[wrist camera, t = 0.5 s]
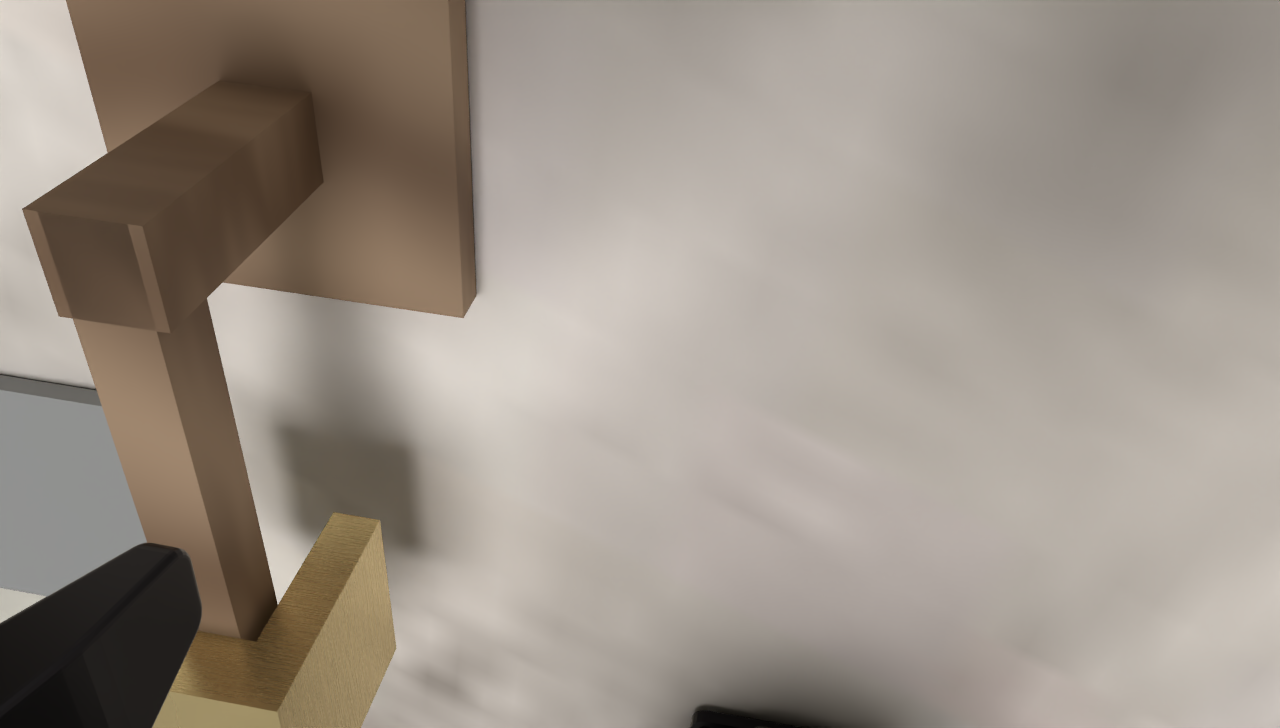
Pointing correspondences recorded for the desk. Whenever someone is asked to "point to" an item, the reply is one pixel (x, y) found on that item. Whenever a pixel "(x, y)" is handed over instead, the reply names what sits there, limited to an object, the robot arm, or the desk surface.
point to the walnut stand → (248, 225)
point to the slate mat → (59, 487)
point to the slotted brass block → (299, 646)
